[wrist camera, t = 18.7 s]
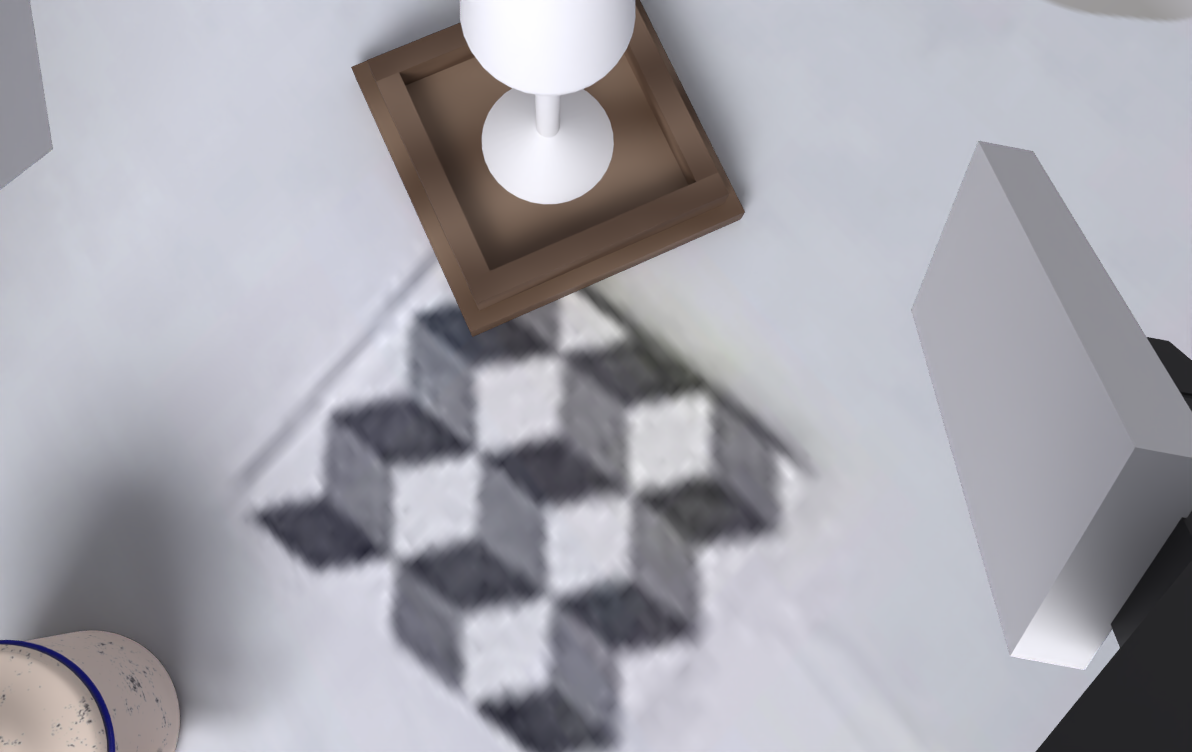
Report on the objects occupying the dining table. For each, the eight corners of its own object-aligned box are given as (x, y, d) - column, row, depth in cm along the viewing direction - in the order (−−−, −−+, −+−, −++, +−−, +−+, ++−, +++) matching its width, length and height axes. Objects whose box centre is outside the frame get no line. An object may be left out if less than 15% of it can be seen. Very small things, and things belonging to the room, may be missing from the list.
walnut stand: (740, 219, 54) (750, 201, 51) (472, 336, 53) (468, 325, 50) (617, -29, 56) (621, -59, 53) (355, 77, 54) (345, 52, 52)
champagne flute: (617, 83, 54) (672, -283, 30) (610, 209, 53) (662, -67, 29) (486, 73, 54) (437, -302, 30) (476, 200, 52) (417, -86, 29)
